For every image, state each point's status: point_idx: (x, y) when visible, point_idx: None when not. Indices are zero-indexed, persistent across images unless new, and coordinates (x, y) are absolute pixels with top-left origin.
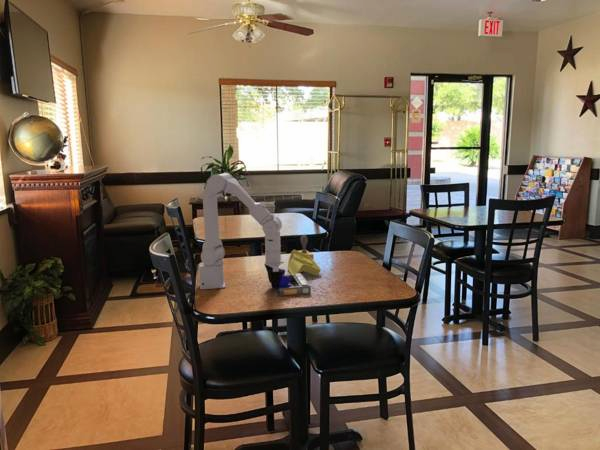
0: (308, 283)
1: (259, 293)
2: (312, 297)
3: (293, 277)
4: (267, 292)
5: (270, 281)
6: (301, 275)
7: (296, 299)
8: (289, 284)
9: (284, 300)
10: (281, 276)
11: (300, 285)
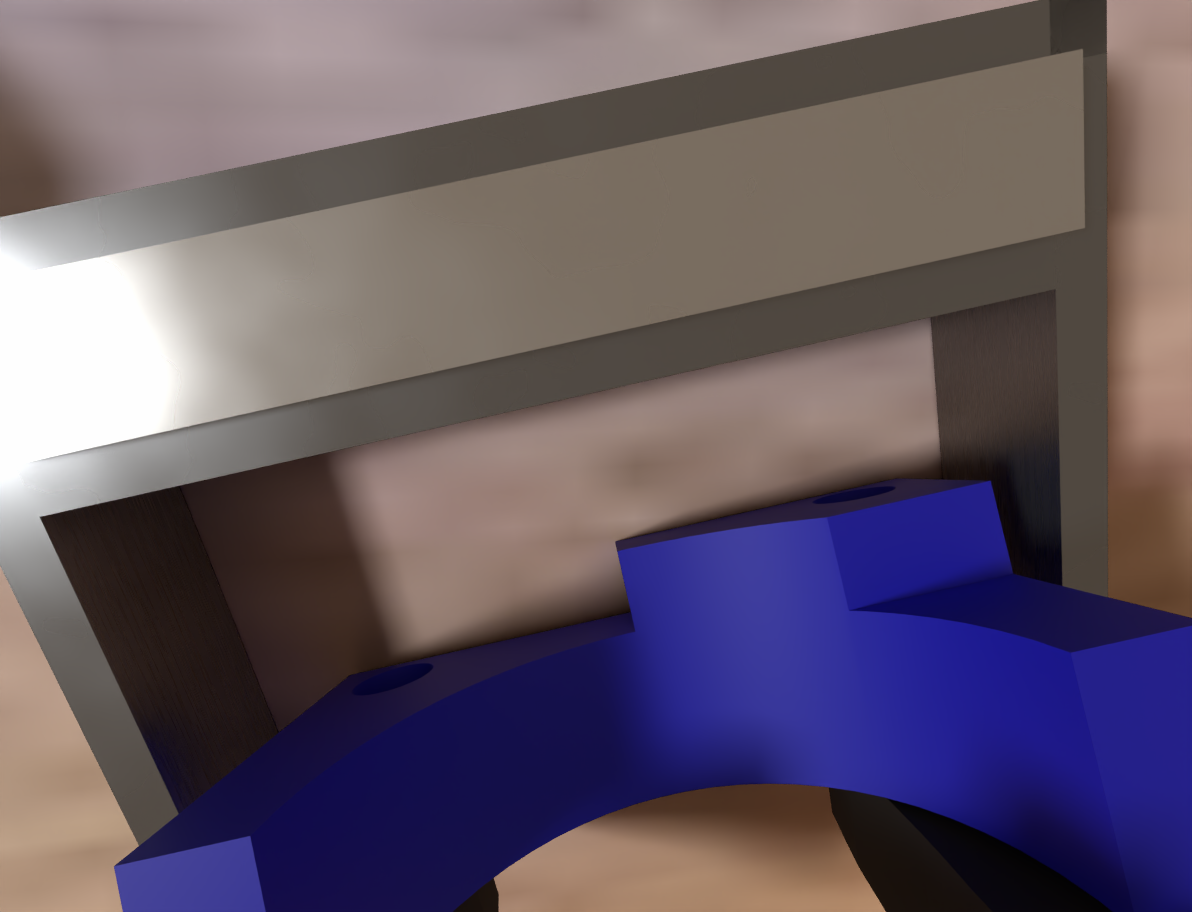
0: (866, 41)
1: (810, 908)
2: (1156, 42)
3: (184, 479)
4: (776, 816)
5: (491, 905)
6: (167, 250)
7: (1188, 353)
8: (933, 543)
9: (1185, 540)
10: (1157, 880)
11: (1003, 275)
